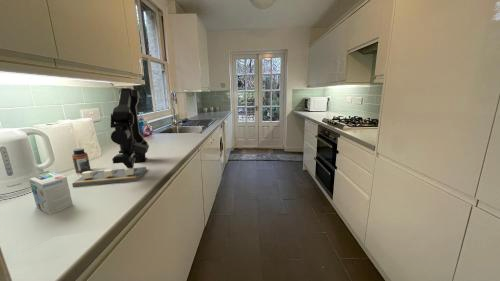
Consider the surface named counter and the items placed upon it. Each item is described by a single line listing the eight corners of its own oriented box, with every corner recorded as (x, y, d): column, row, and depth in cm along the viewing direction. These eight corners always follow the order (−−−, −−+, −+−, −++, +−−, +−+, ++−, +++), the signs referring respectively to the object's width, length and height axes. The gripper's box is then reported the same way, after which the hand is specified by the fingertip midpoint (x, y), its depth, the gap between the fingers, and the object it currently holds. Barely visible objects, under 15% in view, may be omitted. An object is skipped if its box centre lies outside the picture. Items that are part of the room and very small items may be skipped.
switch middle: (106, 175, 92) (105, 169, 92) (114, 174, 93) (113, 169, 92) (104, 177, 90) (103, 171, 90) (112, 176, 91) (111, 170, 90)
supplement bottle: (75, 170, 104) (70, 149, 101) (90, 167, 108) (85, 147, 105) (76, 174, 100) (70, 151, 97) (91, 170, 103) (86, 149, 101)
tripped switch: (127, 173, 94) (126, 168, 93) (134, 173, 94) (133, 167, 94) (125, 175, 92) (124, 169, 91) (132, 174, 92) (131, 169, 92)
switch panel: (91, 174, 99) (90, 170, 99) (146, 169, 104) (145, 166, 103) (72, 186, 86) (72, 183, 85) (137, 180, 90) (136, 177, 90)
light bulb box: (35, 207, 71) (27, 178, 68) (60, 198, 77) (53, 171, 74) (49, 215, 66) (40, 184, 63) (74, 205, 72) (67, 176, 69)
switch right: (85, 177, 91) (84, 171, 90) (93, 176, 91) (91, 170, 91) (82, 178, 89) (81, 173, 88) (90, 178, 89) (89, 172, 89)
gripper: (138, 142, 84) (144, 177, 88) (150, 133, 101) (154, 162, 105) (108, 144, 82) (115, 180, 85) (126, 134, 99) (131, 164, 103)
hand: (131, 171), depth 95 cm, fingers closed
